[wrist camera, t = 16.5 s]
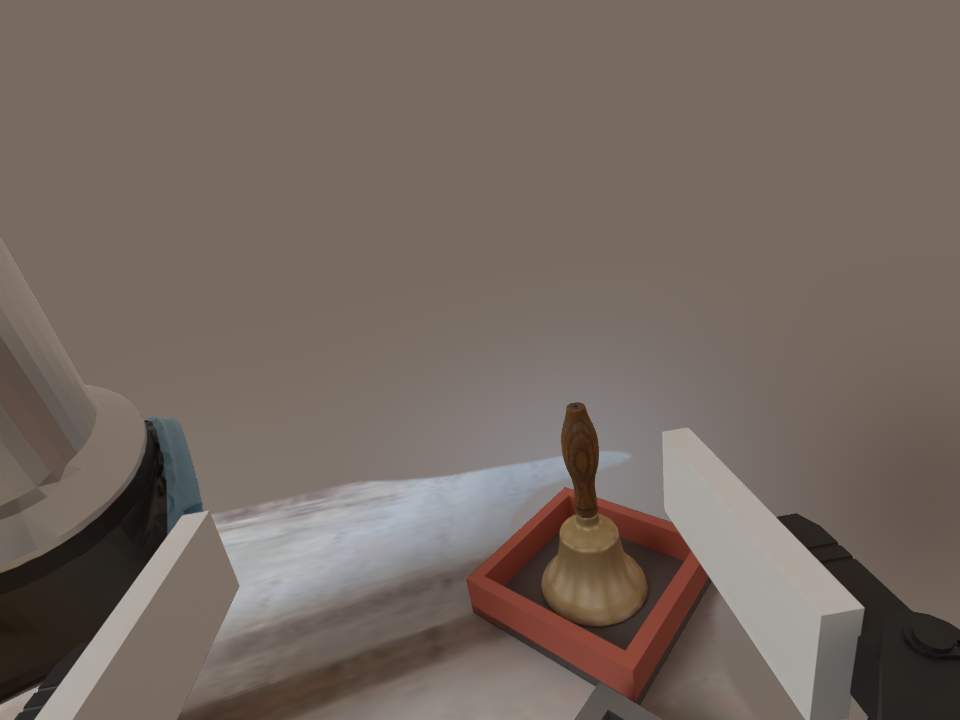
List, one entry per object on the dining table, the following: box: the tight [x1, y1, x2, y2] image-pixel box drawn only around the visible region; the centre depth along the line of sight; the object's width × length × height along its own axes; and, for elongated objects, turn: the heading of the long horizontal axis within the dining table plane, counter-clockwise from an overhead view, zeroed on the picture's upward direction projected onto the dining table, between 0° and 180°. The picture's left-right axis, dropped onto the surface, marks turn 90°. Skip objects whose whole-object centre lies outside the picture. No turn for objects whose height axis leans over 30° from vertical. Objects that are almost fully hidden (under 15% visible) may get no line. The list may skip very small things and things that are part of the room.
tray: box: [467, 487, 712, 705], centre depth 41 cm, size 14×14×3 cm
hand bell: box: [541, 402, 648, 627], centre depth 39 cm, size 8×8×16 cm
